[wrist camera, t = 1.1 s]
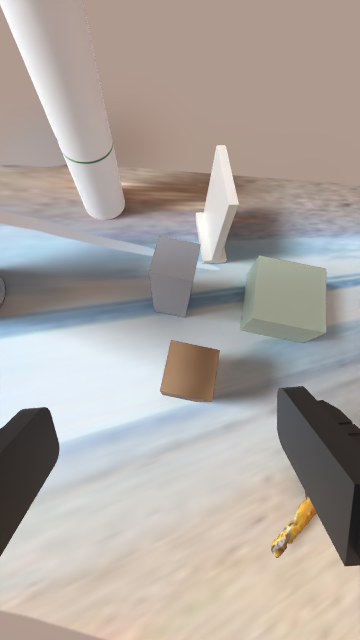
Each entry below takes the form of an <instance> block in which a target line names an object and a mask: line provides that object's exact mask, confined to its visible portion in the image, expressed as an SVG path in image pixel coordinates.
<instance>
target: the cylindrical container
mask: <svg viewBox="0 0 360 640" xmlns="http://www.w3.org/2000/svg"><path fill="white" fill-rule="evenodd" d="M0 5H1V7H2V10H3V12H4V15H5V17H6V19H7V22H8V24H9V26H10V29H11V31H12V34H13V36H14V38H15V41H16V43H17V46H18V48H19V50H20V53H21V55H22V58H23V60H24V62H25V65H26V67H27V70H28V72H29V74H30V76H31V79H32V81H33V84H34V86H35V89H36V91H37V93H38V96H39V98H40V101H41V103H42V105H43V108H44V110H45V113H46V115H47V117H48V119H49V122H50V124H51V127H52V129H53V131H54V134H55V136H56V139H57V141H58V144H59V146H60V148H61V151H62V153H63V156H64V158H65V160H66V163H67V165H68V167H69V170H70V172H71V175H72V177H73V179H74V182H75V184H76V187H77V189H78V191H79V194H80V196H81V199H82V201H83V203H84V206H85V208H86V210H87V212H88V213H89V215H91V216H92V217H94V218H96V219H99V220H109V219H113V218H115V217H117V216H119V215H120V214H121V213H122V211H123V210H124V208H125V200H124V195H123V190H122V185H121V181H120V176H119V171H118V166H117V162H116V157H115V152H114V147H113V142H112V138H111V133H110V129H109V123H108V119H107V114H106V109H105V105H104V100H103V95H102V90H101V85H100V80H99V76H98V71H97V66H96V61H95V57H94V52H93V47H92V42H91V37H90V33H89V28H88V23H87V18H86V14H85V9H84V4H83V0H0Z"/></svg>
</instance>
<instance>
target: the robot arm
mask: <svg viewBox="0 0 360 640" xmlns="http://www.w3.org/2000/svg"><path fill="white" fill-rule="evenodd" d="M4 297H5V284H4V282H3V280H2V278H1V277H0V305H1V304H2V302H3V300H4ZM277 430H278V436H279V440H280V443H281V445H282V448H283V449H284V451H285V453H286V455H287V457H288V459H289V461H290V463H291V465H292V467H293V469H294V470H295V472H296V474H297V476H298V478H299V480H300V482H301V484H302V486H303V488H304V489H305V491H306V493H307V495H308V497H309V499H310V501H311V503H312V505H313V507H314V508H315V510H316V512H317V514H318V516H319V518H320V520H321V522H322V524H323V526H324V527H325V529H326V531H327V533H328V535H329V537H330V539H331V541H332V543H333V545H334V546H335V548H336V550H337V552H338V554H339V556H340V558H341V560H342V562H343V564H344V566H356V565H360V429H359V428H358V427H357V426H356V425H355V424H352V421H351V420H350V419H349V418H348V417H347V416H346V415H345V414H344V413H342V412H341V411H340V410H339V409H338V408H336V407H334V406H332V405H330V404H329V403H327V402H325V401H323V400H320V401H317V400H316V399H315V398H314V397H313V396H312V395H311V394H310V393H309V392H308V390H307V389H306V388H305V387H303V386H298V387H286V388H279V390H278V395H277ZM58 455H59V442H58V438H57V434H56V431H55V427H54V424H53V420H52V416H51V413H50V411H49V409H48V408H46V407H42V408H30V409H22V410H20V411H19V412H18V413H17V414H16V415H15V416H14V417H13V418H12V419H11V420H10V421H9V422H8V423H7V424H6V425H5V426H4V427H2V428H1V429H0V556H1V555H2V553H3V551H4V549H5V548H6V546H7V544H8V543H9V541H10V539H11V538H12V536H13V534H14V533H15V531H16V529H17V528H18V526H19V524H20V523H21V521H22V519H23V518H24V516H25V514H26V513H27V511H28V509H29V508H30V506H31V504H32V502H33V501H34V499H35V497H36V496H37V494H38V492H39V491H40V489H41V487H42V486H43V484H44V482H45V481H46V479H47V477H48V476H49V474H50V472H51V471H52V469H53V467H54V466H55V464H56V462H57V459H58Z"/></svg>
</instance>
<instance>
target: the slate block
mask: <svg viewBox="0 0 360 640" xmlns="http://www.w3.org/2000/svg"><path fill="white" fill-rule="evenodd" d="M200 245H201V244H197V243H192V242H187V241H182V240H177V239H172V238H167V237H162V236H159V237H158V241H157V245H156V248H155V252H154V255H153V259H152V263H151V266H150V270H149V278H150V285H151V292H152V299H153V306H154V311H155V312H160V313H165V314H170V315H175V316H180V317H186V312H187V307H188V303H189V298H190V294H191V289H192V284H193V280H194V275H195V270H196V265H197V260H198V255H199V250H200Z"/></svg>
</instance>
